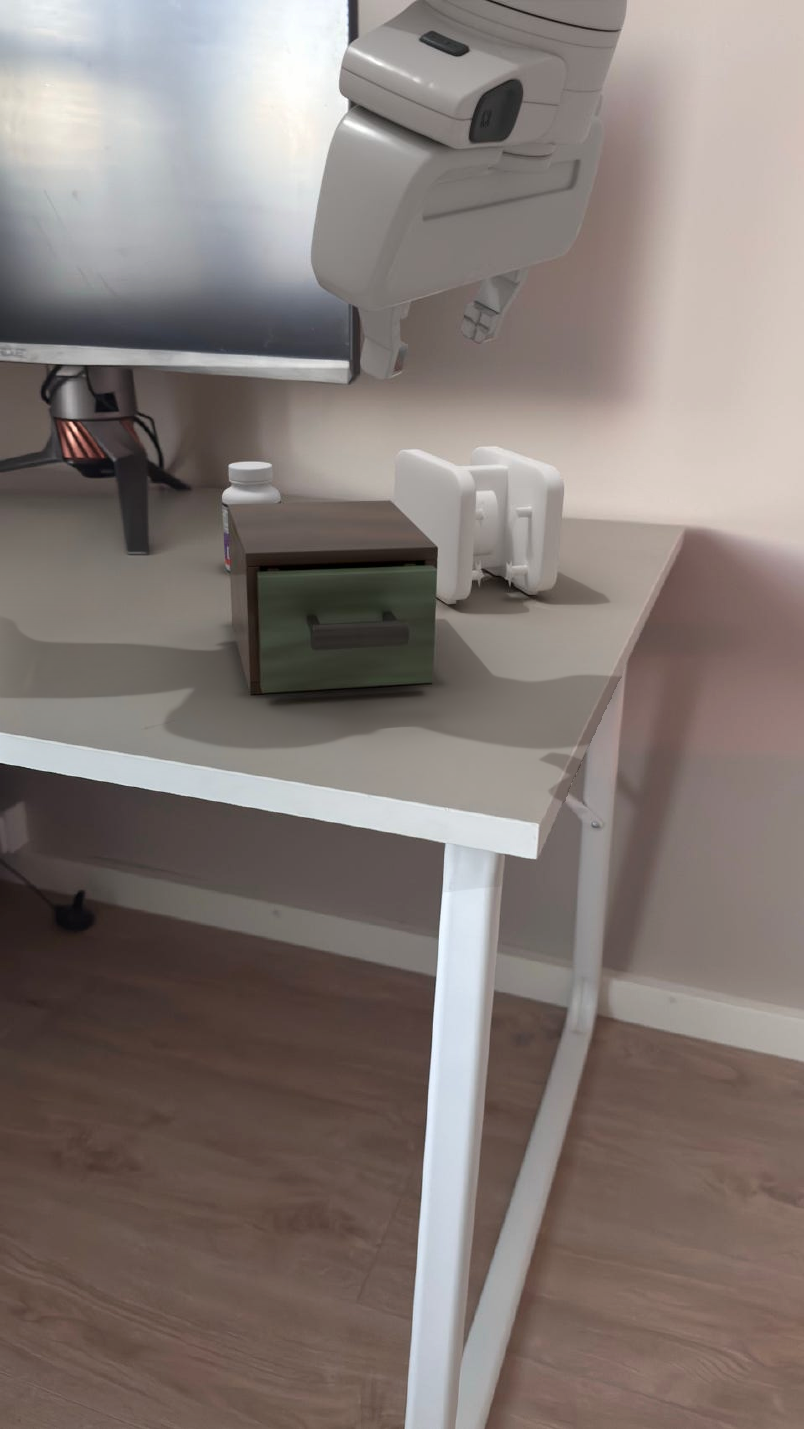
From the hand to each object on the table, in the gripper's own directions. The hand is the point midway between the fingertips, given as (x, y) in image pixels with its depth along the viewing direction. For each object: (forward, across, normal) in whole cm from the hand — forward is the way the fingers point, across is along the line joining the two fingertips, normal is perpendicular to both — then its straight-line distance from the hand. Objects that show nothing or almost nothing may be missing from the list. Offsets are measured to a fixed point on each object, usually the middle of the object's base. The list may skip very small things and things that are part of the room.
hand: (431, 354), depth 58 cm
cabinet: (+27, -5, -5) cm, 28 cm away
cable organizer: (+31, -27, -5) cm, 41 cm away
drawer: (+24, -2, -2) cm, 25 cm away
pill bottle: (+36, -18, -22) cm, 46 cm away
